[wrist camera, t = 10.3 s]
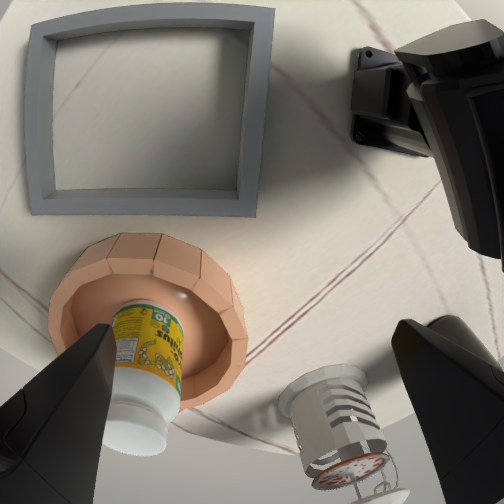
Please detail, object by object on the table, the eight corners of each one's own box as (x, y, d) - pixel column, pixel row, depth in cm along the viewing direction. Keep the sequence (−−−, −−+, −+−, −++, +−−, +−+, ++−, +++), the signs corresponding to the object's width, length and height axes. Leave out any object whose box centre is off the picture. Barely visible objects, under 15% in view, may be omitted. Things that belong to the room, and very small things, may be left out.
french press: (322, 352, 26) (422, 620, 4) (393, 380, 30) (483, 565, 8) (258, 411, 29) (303, 638, 7) (334, 429, 33) (391, 601, 11)
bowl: (248, 235, 21) (256, 261, 18) (236, 380, 27) (240, 411, 24) (49, 232, 19) (26, 255, 15) (86, 373, 25) (78, 401, 22)
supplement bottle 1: (101, 306, 21) (60, 414, 12) (167, 288, 20) (149, 407, 12) (133, 358, 23) (115, 462, 14) (195, 345, 23) (195, 457, 14)
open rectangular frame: (268, 17, 14) (275, 8, 13) (251, 206, 20) (255, 217, 18) (46, 29, 12) (31, 24, 11) (45, 205, 18) (31, 215, 16)
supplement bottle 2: (413, 327, 27) (478, 419, 16) (465, 304, 27) (532, 380, 16) (407, 370, 30) (455, 454, 19) (454, 348, 30) (507, 420, 19)
